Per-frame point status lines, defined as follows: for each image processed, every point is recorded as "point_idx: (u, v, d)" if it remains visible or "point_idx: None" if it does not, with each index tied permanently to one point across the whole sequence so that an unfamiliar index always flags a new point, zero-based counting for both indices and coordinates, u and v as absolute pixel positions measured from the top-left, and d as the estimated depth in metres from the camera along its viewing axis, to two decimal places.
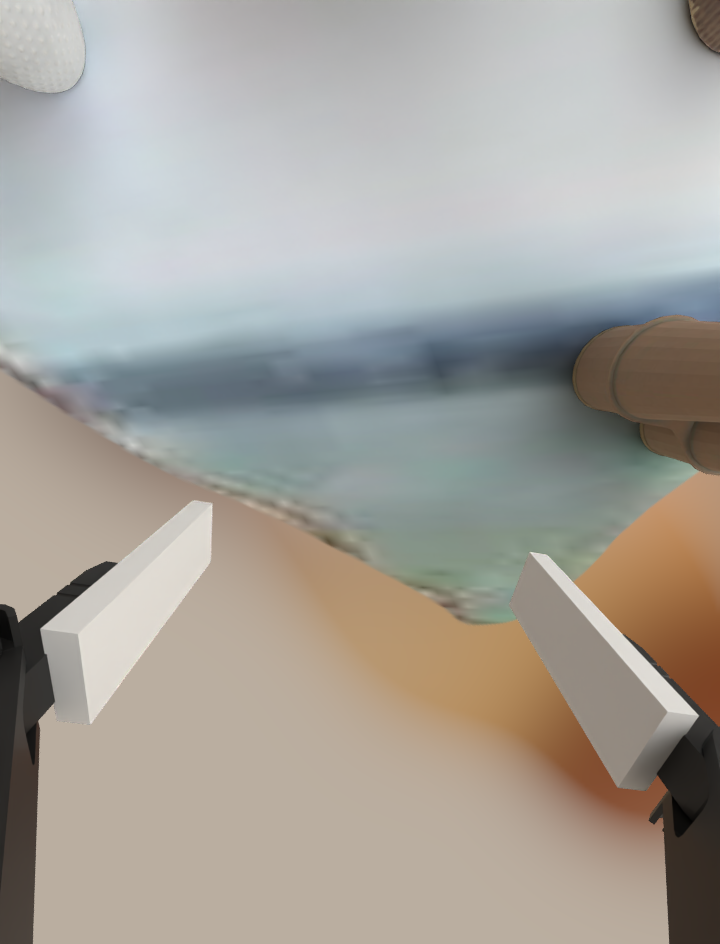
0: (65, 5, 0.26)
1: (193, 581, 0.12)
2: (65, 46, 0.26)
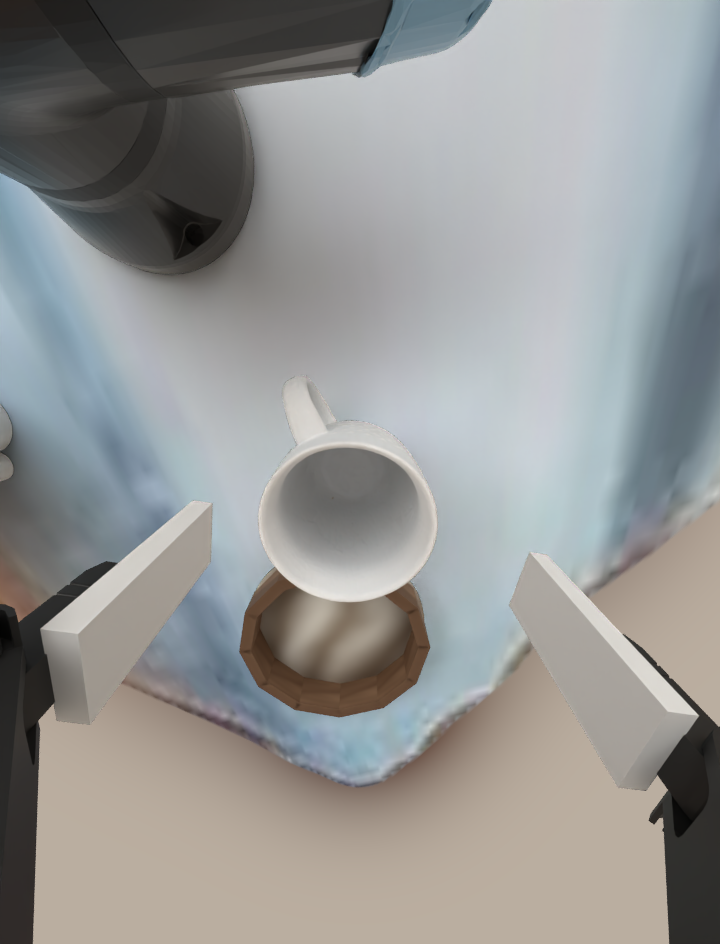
0: None
1: (193, 581, 0.12)
2: None
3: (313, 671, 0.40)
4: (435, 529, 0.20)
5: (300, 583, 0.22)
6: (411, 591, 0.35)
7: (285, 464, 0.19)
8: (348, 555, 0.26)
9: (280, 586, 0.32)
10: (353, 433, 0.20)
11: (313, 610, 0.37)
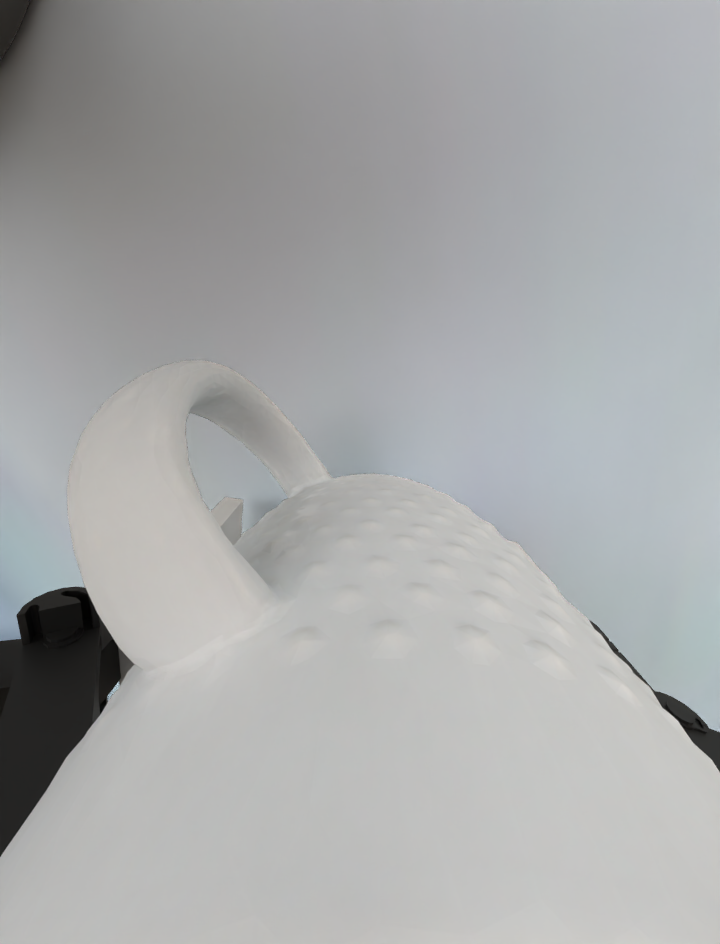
0: (394, 480, 0.10)
1: None
2: None
3: None
4: None
5: None
6: None
7: None
8: None
9: None
10: (403, 662, 0.04)
11: None
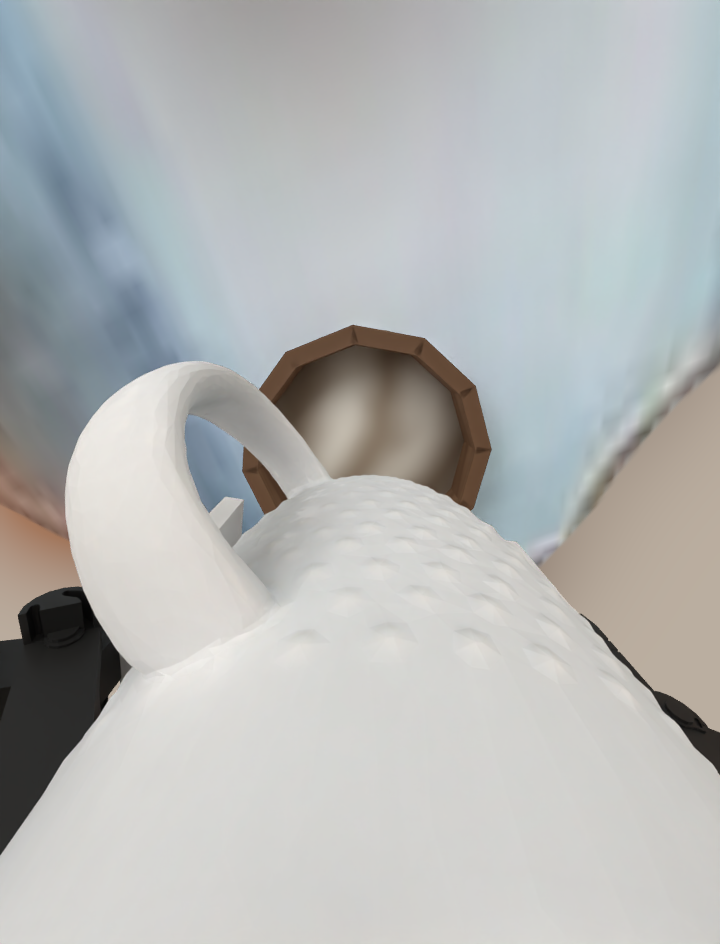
0: (394, 481, 0.10)
1: None
2: None
3: None
4: None
5: None
6: None
7: None
8: None
9: (290, 360, 0.24)
10: (402, 666, 0.04)
11: (334, 427, 0.29)
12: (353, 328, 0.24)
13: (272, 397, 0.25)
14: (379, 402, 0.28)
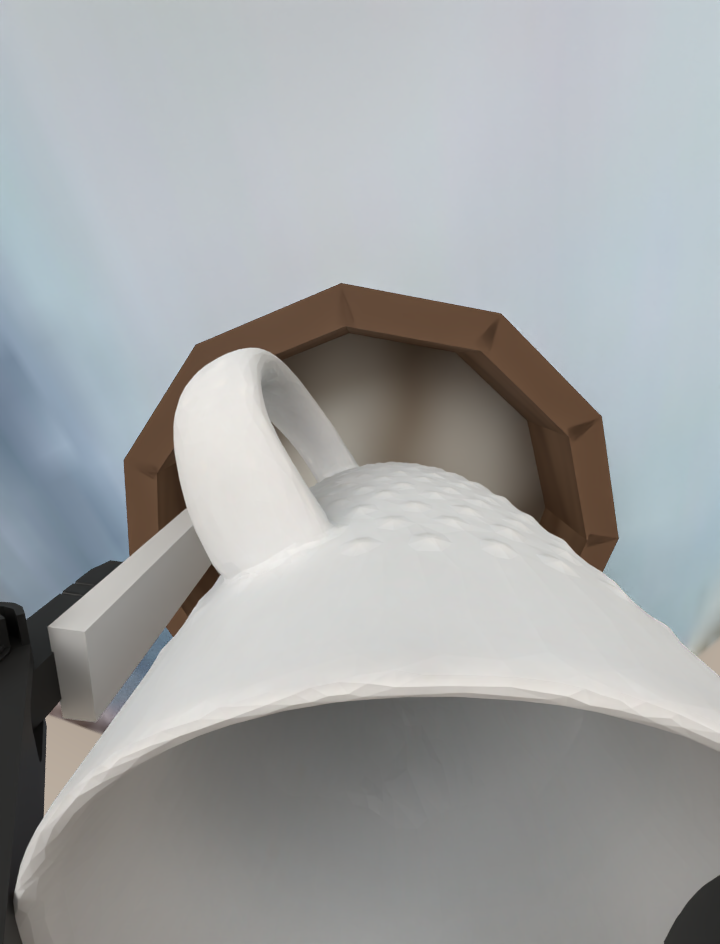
0: (418, 465, 0.11)
1: (196, 580, 0.12)
2: None
3: None
4: None
5: None
6: None
7: (91, 780, 0.03)
8: (399, 813, 0.10)
9: (207, 363, 0.11)
10: (442, 552, 0.05)
11: (312, 483, 0.16)
12: (343, 291, 0.11)
13: None
14: (394, 440, 0.15)
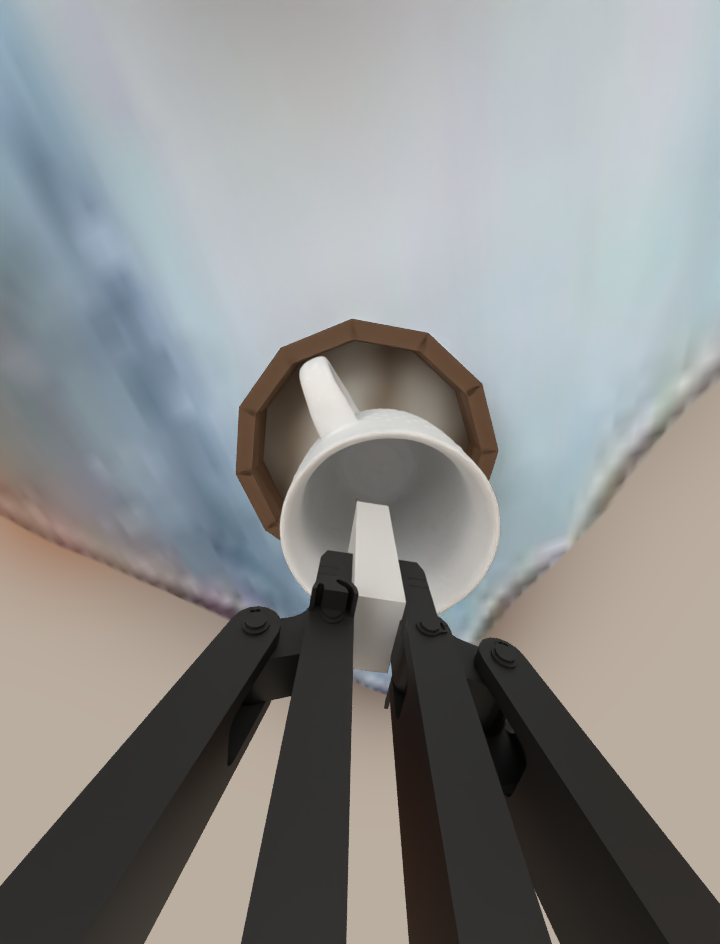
0: None
1: None
2: None
3: None
4: (497, 534, 0.16)
5: None
6: None
7: (311, 462, 0.15)
8: None
9: (285, 356, 0.23)
10: (391, 421, 0.16)
11: None
12: (352, 322, 0.22)
13: (267, 396, 0.24)
14: (380, 401, 0.27)
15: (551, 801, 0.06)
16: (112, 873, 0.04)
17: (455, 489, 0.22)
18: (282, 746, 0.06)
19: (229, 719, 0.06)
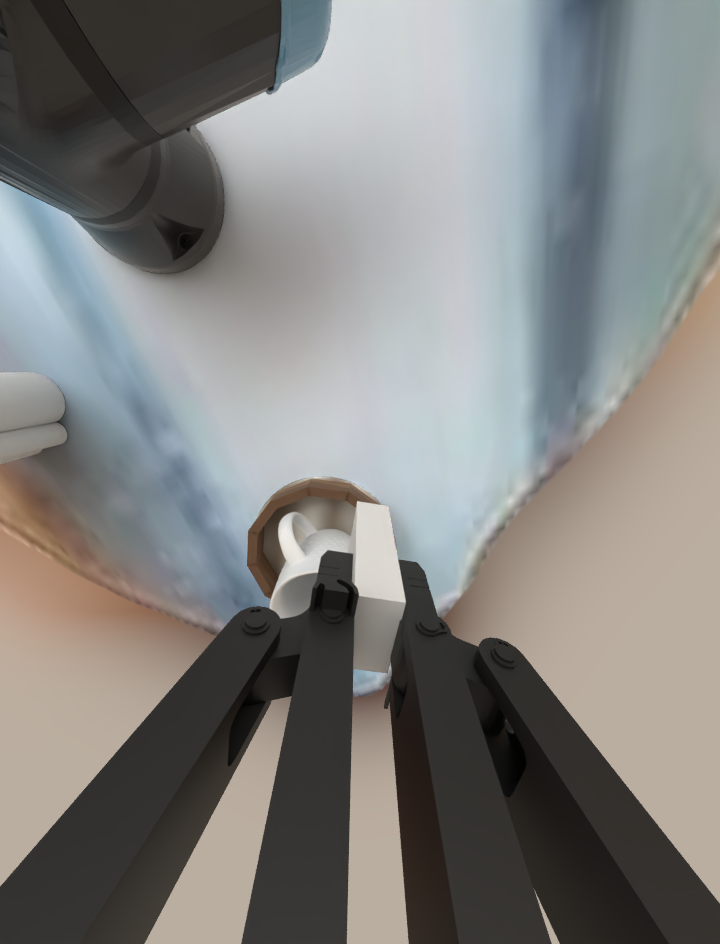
0: (332, 532, 0.42)
1: None
2: (349, 537, 0.42)
3: None
4: None
5: None
6: None
7: (281, 584, 0.34)
8: None
9: (273, 505, 0.42)
10: (319, 559, 0.35)
11: None
12: (308, 488, 0.41)
13: (263, 525, 0.43)
14: (330, 517, 0.46)
15: (551, 801, 0.06)
16: (112, 873, 0.04)
17: None
18: (282, 746, 0.06)
19: (229, 719, 0.06)
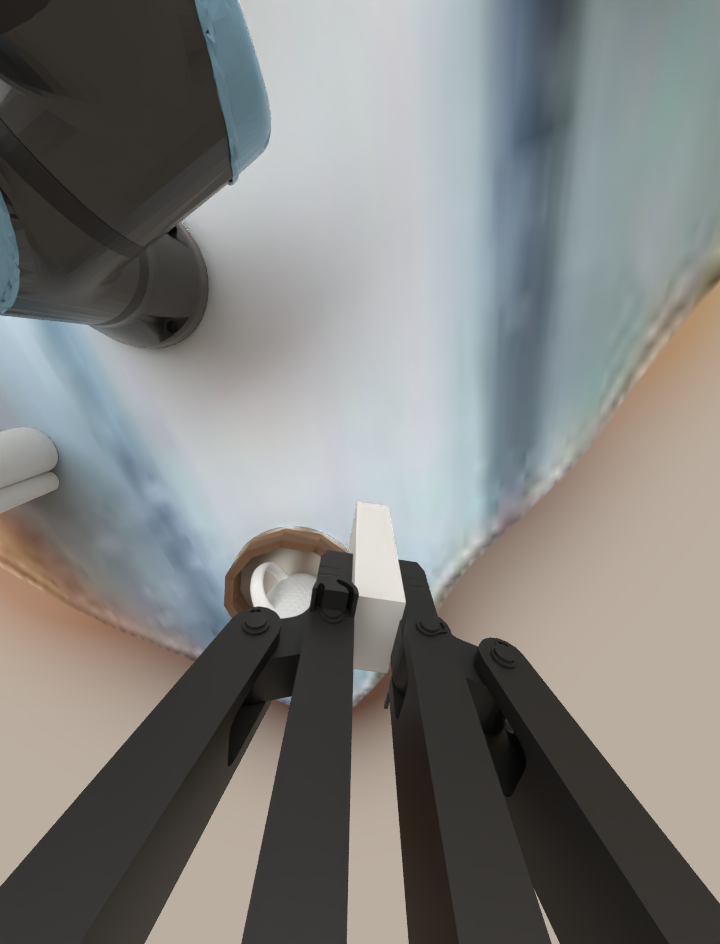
0: (301, 580, 0.46)
1: None
2: None
3: None
4: None
5: None
6: None
7: None
8: None
9: (248, 555, 0.46)
10: (285, 613, 0.40)
11: None
12: (280, 541, 0.45)
13: (239, 571, 0.47)
14: (302, 563, 0.50)
15: (551, 801, 0.06)
16: (113, 873, 0.04)
17: None
18: (283, 746, 0.06)
19: (229, 719, 0.06)
